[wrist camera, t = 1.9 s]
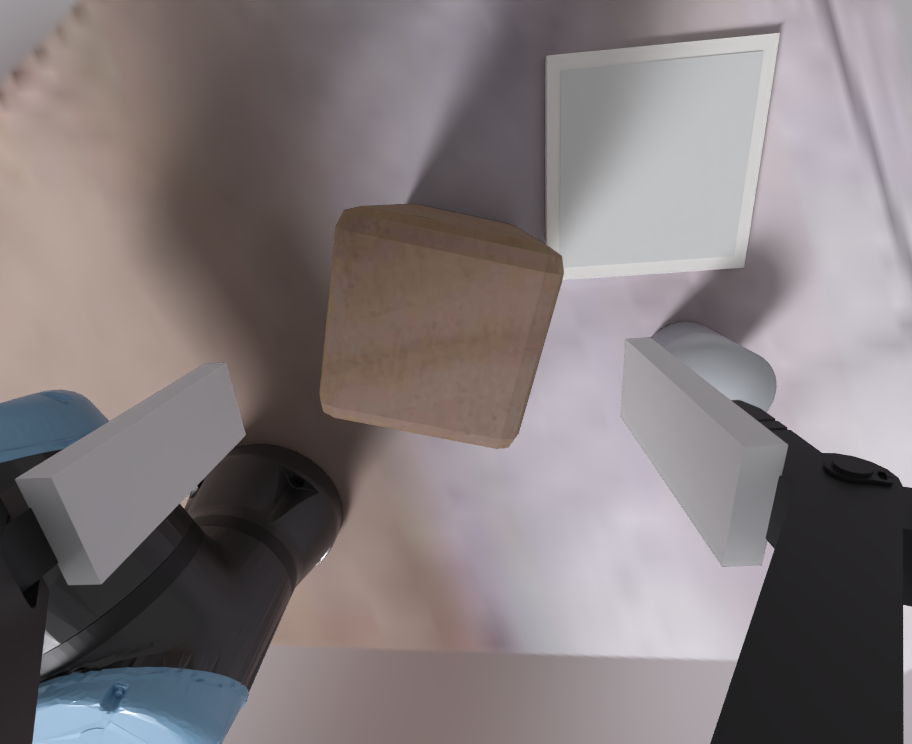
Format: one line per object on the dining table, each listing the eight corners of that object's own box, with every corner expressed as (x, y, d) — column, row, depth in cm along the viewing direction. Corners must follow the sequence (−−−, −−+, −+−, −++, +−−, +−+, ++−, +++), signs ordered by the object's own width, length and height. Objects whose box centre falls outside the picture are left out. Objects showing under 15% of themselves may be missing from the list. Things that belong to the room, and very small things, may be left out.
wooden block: (403, 200, 36) (330, 201, 18) (522, 226, 37) (576, 252, 18) (386, 318, 40) (310, 421, 21) (495, 340, 40) (515, 461, 22)
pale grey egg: (637, 396, 42) (673, 439, 34) (642, 324, 39) (682, 352, 32) (714, 392, 41) (767, 434, 34) (724, 318, 39) (784, 347, 31)
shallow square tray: (545, 279, 38) (547, 281, 37) (545, 58, 32) (547, 55, 32) (738, 266, 37) (744, 267, 36) (772, 36, 32) (780, 32, 31)
